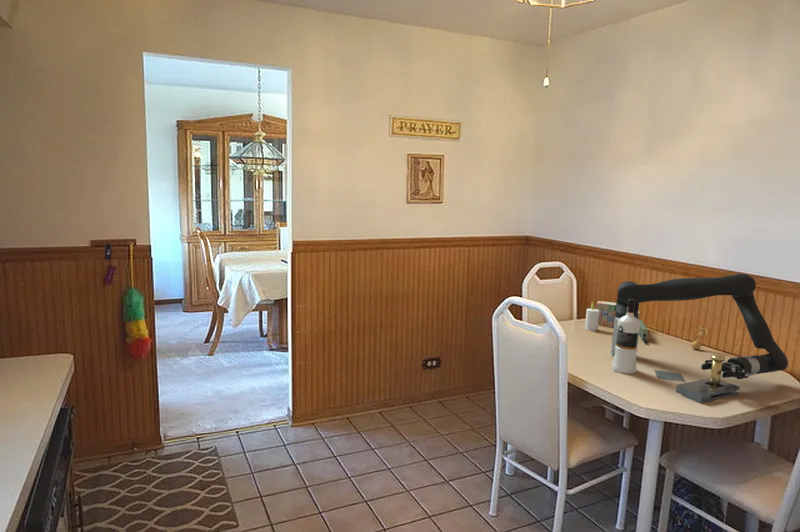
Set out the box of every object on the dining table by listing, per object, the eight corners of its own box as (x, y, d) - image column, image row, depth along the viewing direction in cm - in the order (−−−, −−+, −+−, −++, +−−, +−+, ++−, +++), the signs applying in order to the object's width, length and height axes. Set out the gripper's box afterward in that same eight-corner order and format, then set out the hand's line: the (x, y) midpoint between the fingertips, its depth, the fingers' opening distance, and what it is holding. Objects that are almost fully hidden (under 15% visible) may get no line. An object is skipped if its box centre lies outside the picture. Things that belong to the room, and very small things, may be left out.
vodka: (640, 374, 217) (649, 302, 213) (619, 375, 216) (627, 301, 211) (628, 366, 226) (635, 296, 222) (607, 367, 225) (614, 296, 220)
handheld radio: (642, 332, 283) (649, 345, 259) (635, 331, 284) (642, 344, 260) (643, 319, 282) (650, 331, 258) (636, 319, 283) (643, 331, 259)
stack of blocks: (637, 327, 290) (640, 305, 288) (637, 330, 284) (639, 307, 283) (595, 322, 299) (597, 300, 297) (594, 324, 293) (596, 302, 291)
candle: (598, 331, 279) (601, 303, 277) (585, 330, 280) (588, 302, 278) (597, 328, 285) (599, 300, 283) (584, 327, 287) (586, 299, 284)
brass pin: (707, 393, 200) (712, 357, 197) (705, 389, 204) (710, 354, 202) (721, 395, 198) (726, 359, 196) (718, 391, 203) (723, 355, 200)
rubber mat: (657, 379, 213) (657, 378, 213) (654, 371, 222) (654, 370, 222) (685, 383, 210) (685, 382, 210) (681, 374, 219) (681, 373, 219)
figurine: (686, 346, 259) (689, 322, 257) (698, 346, 259) (701, 322, 257) (696, 352, 251) (700, 326, 249) (709, 352, 251) (712, 327, 249)
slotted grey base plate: (700, 403, 191) (701, 394, 190) (675, 392, 200) (676, 384, 199) (738, 395, 200) (739, 386, 199) (713, 385, 209) (714, 377, 208)
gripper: (726, 351, 211) (696, 355, 205) (762, 363, 198) (732, 367, 192) (724, 369, 212) (694, 373, 206) (759, 382, 199) (729, 387, 193)
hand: (712, 370), depth 199 cm, fingers open, 8 cm apart
